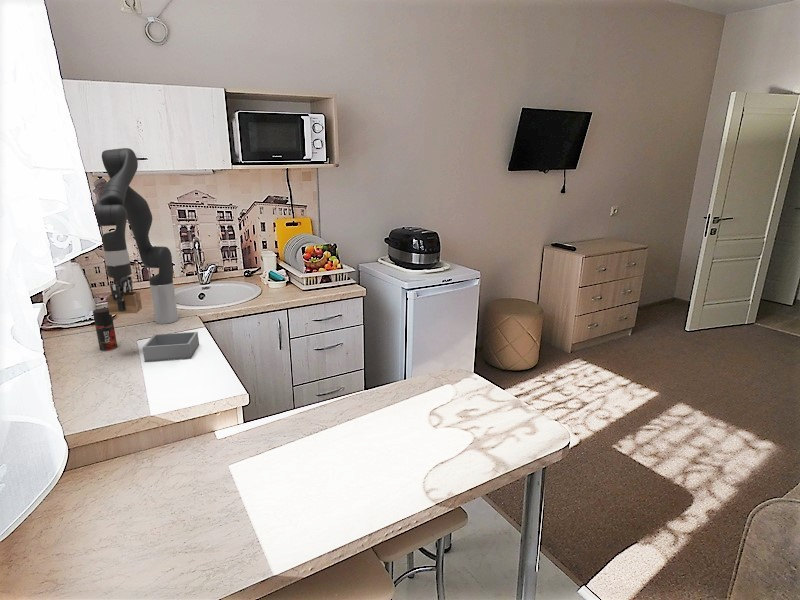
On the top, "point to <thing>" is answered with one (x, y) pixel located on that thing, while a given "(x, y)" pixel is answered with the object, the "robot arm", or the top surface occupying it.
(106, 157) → the robot arm
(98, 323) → the deodorant
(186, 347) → the crate large
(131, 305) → the crate small
